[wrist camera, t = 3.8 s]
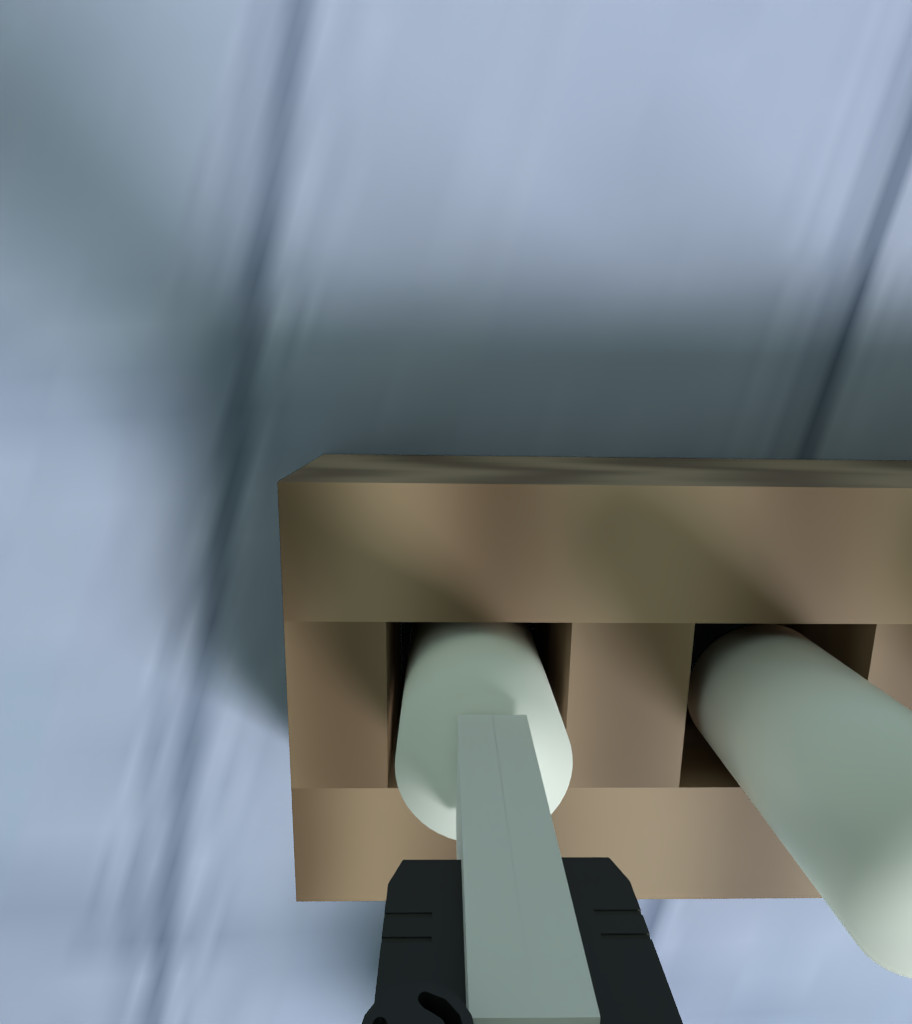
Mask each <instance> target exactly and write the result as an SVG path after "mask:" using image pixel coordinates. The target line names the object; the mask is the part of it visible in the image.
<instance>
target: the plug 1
mask: <svg viewBox="0 0 912 1024" xmlns="http://www.w3.org/2000/svg"><path fill="white" fill-rule="evenodd" d="M458 714H478V715H527V719H528V723H529V727H530V731H531V736H532V740H533V744H534V748H535V752H536V756H537V760H538V764H539V768H540V772H541V776H542V780H543V785H544V789H545V793H546V797H547V801H548V805H549V809H550V813H551V814H552V813H553V812H554V810H555V809H556V808H557V807H558V805H559V804H560V802H561V801H562V799H563V797H564V795H565V793H566V791H567V789H568V786H569V783H570V779H571V775H572V767H573V758H572V750H571V744H570V741H569V738H568V735H567V732H566V729H565V727H564V724H563V721H562V718H561V715H560V713H559V710H558V707H557V704H556V701H555V699H554V696H553V693H552V690H551V687H550V685H549V682H548V679H547V676H546V673H545V671H544V668H543V665H542V662H541V659H540V657H539V654H538V651H537V648H536V645H535V643H534V640H533V637H532V634H531V631H530V629H529V626H528V623H527V622H413V624H412V629H411V635H410V643H409V651H408V659H407V667H406V675H405V683H404V691H403V699H402V707H401V715H400V723H399V731H398V739H397V747H396V755H395V776H396V781H397V785H398V788H399V791H400V793H401V796H402V798H403V800H404V802H405V803H406V805H407V807H408V808H409V809H410V810H411V812H412V813H413V814H414V815H415V816H416V817H417V818H418V819H419V820H420V821H421V822H422V823H423V824H425V825H426V826H427V827H428V828H430V829H432V830H433V831H435V832H437V833H439V834H441V835H443V836H445V837H448V838H451V839H454V840H456V784H457V721H458Z"/></svg>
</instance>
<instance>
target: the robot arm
mask: <svg viewBox="0 0 912 1024" xmlns="http://www.w3.org/2000/svg"><path fill="white" fill-rule="evenodd" d="M456 849H457V860H402V862H401V864H400V865H399V867H398V868H397V870H396V872H395V873H394V875H393V877H392V878H391V880H390V881H389V883H388V888H387V897H386V906H385V918H384V923H383V932H382V943H381V950H380V959H379V968H378V976H377V985H376V994H375V1003H374V1004H373V1006H372V1007H371V1008H370V1009H369V1011H368V1012H367V1013H366V1014H365V1016H364V1019H363V1022H362V1024H683V1023H682V1020H681V1017H680V1015H679V1012H678V1009H677V1007H676V1004H675V1001H674V998H673V996H672V993H671V990H670V988H669V985H668V982H667V980H666V977H665V974H664V972H663V969H662V966H661V963H660V961H659V958H658V955H657V953H656V950H655V947H654V945H653V942H652V940H650V936H649V931H648V928H647V926H646V923H645V920H644V918H643V915H641V909H640V907H639V904H638V901H637V899H636V896H635V893H634V891H633V888H632V885H631V882H630V881H629V879H628V878H627V877H626V876H625V875H624V874H623V873H622V871H621V870H620V869H619V868H618V867H617V866H616V865H615V863H614V862H613V861H612V860H611V859H610V858H609V857H561V854H560V850H559V846H558V842H557V838H556V834H555V829H554V825H553V821H552V817H551V813H550V809H549V805H548V801H547V797H546V793H545V789H544V785H543V780H542V776H541V772H540V768H539V764H538V760H537V756H536V752H535V748H534V744H533V740H532V736H531V731H530V727H529V723H528V719H527V715H478V714H458V721H457V784H456Z"/></svg>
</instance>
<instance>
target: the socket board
mask: <svg viewBox="0 0 912 1024" xmlns="http://www.w3.org/2000/svg"><path fill="white" fill-rule="evenodd" d="M277 484H278V506H279V528H280V550H281V572H282V594H283V616H284V638H285V660H286V681H287V703H288V725H289V747H290V769H291V791H292V813H293V835H294V857H295V879H296V901H386V897H387V888H388V883H389V881H390V880H391V878H392V877H393V875H394V873H395V872H396V870H397V868H398V867H399V865H400V864H401V862H402V860H457V849H456V840H454V839H451V838H448V837H445V836H443V835H441V834H439V833H437V832H435V831H433V830H432V829H430V828H428V827H427V826H426V825H425V824H423V823H422V822H421V821H420V820H419V819H418V818H417V817H416V816H415V815H414V814H413V813H412V812H411V810H410V809H409V808H408V807H407V805H406V803H405V802H404V800H403V798H402V796H401V793H400V791H399V788H398V785H397V781H396V776H395V755H396V747H397V739H398V731H399V723H400V715H401V707H402V699H403V691H404V683H402V661H401V622H531V623H534V643H535V645H536V648H537V651H538V654H539V657H540V659H541V662H542V665H543V668H544V671H545V673H546V676H547V679H548V682H549V685H550V687H551V690H552V693H553V696H554V699H555V701H556V704H557V707H558V710H559V713H560V715H561V718H562V721H563V724H564V727H565V729H566V732H567V735H568V738H569V741H570V744H571V750H572V758H573V767H572V775H571V779H570V783H569V786H568V789H567V791H566V793H565V795H564V797H563V799H562V801H561V802H560V804H559V805H558V807H557V808H556V809H555V810H554V812H553V813H552V814H551V817H552V821H553V825H554V829H555V834H556V838H557V842H558V846H559V850H560V854H561V857H609V858H610V859H611V860H612V861H613V862H614V863H615V865H616V866H617V867H618V868H619V869H620V870H621V871H622V873H623V874H624V875H625V876H626V877H627V878H628V879H629V881H630V882H631V885H632V888H633V891H634V893H635V896H636V899H730V898H822V896H821V895H820V894H819V892H818V891H817V889H816V888H815V887H814V885H813V884H812V883H811V881H810V880H809V879H808V877H807V876H806V875H805V873H804V872H803V871H802V869H801V868H800V867H799V865H798V864H797V862H796V861H795V860H794V858H793V857H792V856H791V854H790V853H789V852H788V850H787V849H786V848H785V846H784V845H783V844H782V842H781V841H780V840H779V838H778V837H777V835H776V834H775V833H774V831H773V830H772V829H771V827H770V826H769V825H768V823H767V822H766V821H765V819H764V818H763V817H762V815H761V814H760V812H759V811H758V810H757V808H756V807H755V806H754V804H753V803H752V802H751V800H750V799H749V798H748V796H747V795H746V794H745V792H744V791H743V790H742V788H741V787H740V785H739V784H738V783H737V781H736V780H735V779H734V777H733V776H732V775H731V773H730V772H729V771H728V769H727V768H726V767H725V765H724V764H723V762H722V761H721V760H720V758H719V757H718V756H717V754H716V753H715V752H714V750H713V749H712V748H711V746H710V745H709V744H708V742H707V741H706V740H705V738H704V737H703V735H702V734H701V733H700V731H699V730H698V729H697V727H696V726H695V724H694V722H693V720H692V718H691V716H690V713H689V709H688V704H687V700H688V690H689V680H690V670H691V660H692V650H693V639H694V629H695V623H753V624H776V625H781V626H785V627H788V628H791V629H793V630H795V631H797V632H799V633H800V634H802V635H803V636H805V637H806V638H808V639H809V640H810V641H812V642H813V643H815V644H816V645H818V646H819V647H820V648H822V649H823V650H825V651H826V652H828V653H829V654H830V655H832V656H833V657H835V658H836V659H838V660H839V661H840V662H842V663H843V664H845V665H846V666H848V667H849V668H850V669H852V670H853V671H855V672H856V673H858V674H859V675H861V676H862V677H863V678H865V679H866V680H868V681H869V682H871V683H872V684H873V685H875V686H876V687H878V688H879V689H881V690H882V691H883V692H885V693H886V694H888V695H889V696H891V697H892V698H893V699H895V700H896V701H898V702H899V703H901V704H902V705H903V706H905V707H906V708H908V709H909V710H911V711H912V461H892V460H802V459H713V458H624V457H534V456H445V455H355V454H323V455H321V456H320V457H318V458H316V459H315V460H313V461H311V462H310V463H308V464H306V465H305V466H303V467H301V468H300V469H298V470H296V471H295V472H293V473H291V474H290V475H288V476H286V477H285V478H283V479H281V480H280V481H278V482H277Z"/></svg>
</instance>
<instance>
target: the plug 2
mask: <svg viewBox="0 0 912 1024" xmlns="http://www.w3.org/2000/svg"><path fill="white" fill-rule="evenodd" d="M687 704H688V709H689V713H690V716H691V718H692V720H693V722H694V724H695V726H696V727H697V729H698V730H699V731H700V733H701V734H702V735H703V737H704V738H705V740H706V741H707V742H708V744H709V745H710V746H711V748H712V749H713V750H714V752H715V753H716V754H717V756H718V757H719V758H720V760H721V761H722V762H723V764H724V765H725V767H726V768H727V769H728V771H729V772H730V773H731V775H732V776H733V777H734V779H735V780H736V781H737V783H738V784H739V785H740V787H741V788H742V790H743V791H744V792H745V794H746V795H747V796H748V798H749V799H750V800H751V802H752V803H753V804H754V806H755V807H756V808H757V810H758V811H759V812H760V814H761V815H762V817H763V818H764V819H765V821H766V822H767V823H768V825H769V826H770V827H771V829H772V830H773V831H774V833H775V834H776V835H777V837H778V838H779V840H780V841H781V842H782V844H783V845H784V846H785V848H786V849H787V850H788V852H789V853H790V854H791V856H792V857H793V858H794V860H795V861H796V862H797V864H798V865H799V867H800V868H801V869H802V871H803V872H804V873H805V875H806V876H807V877H808V879H809V880H810V881H811V883H812V884H813V885H814V887H815V888H816V889H817V891H818V892H819V894H820V895H821V896H822V898H823V899H824V900H825V902H826V903H827V904H828V906H829V907H830V908H831V910H832V911H833V912H834V914H835V915H836V917H837V918H838V919H839V921H840V922H841V923H842V925H843V926H844V927H845V929H846V930H847V931H848V933H849V934H850V935H851V937H852V938H853V939H854V941H855V942H856V944H857V945H858V946H859V947H860V948H861V950H862V951H863V952H864V953H865V954H866V955H867V956H868V957H869V958H870V959H872V960H873V961H874V962H875V963H877V964H878V965H880V966H881V967H883V968H885V969H886V970H889V971H891V972H893V973H895V974H898V975H901V976H904V977H908V978H911V979H912V711H911V710H909V709H908V708H906V707H905V706H903V705H902V704H901V703H899V702H898V701H896V700H895V699H893V698H892V697H891V696H889V695H888V694H886V693H885V692H883V691H882V690H881V689H879V688H878V687H876V686H875V685H873V684H872V683H871V682H869V681H868V680H866V679H865V678H863V677H862V676H861V675H859V674H858V673H856V672H855V671H853V670H852V669H850V668H849V667H848V666H846V665H845V664H843V663H842V662H840V661H839V660H838V659H836V658H835V657H833V656H832V655H830V654H829V653H828V652H826V651H825V650H823V649H822V648H820V647H819V646H818V645H816V644H815V643H813V642H812V641H810V640H809V639H808V638H806V637H805V636H803V635H802V634H800V633H799V632H797V631H795V630H793V629H791V628H788V627H785V626H781V625H776V624H753V625H747V626H744V627H740V628H737V629H735V630H733V631H730V632H728V633H726V634H725V635H723V636H721V637H720V638H718V639H717V640H716V641H714V642H713V643H712V644H711V645H710V646H709V647H708V648H707V649H706V650H705V651H704V652H703V653H702V655H701V656H700V657H699V659H698V660H697V662H696V664H695V665H694V668H693V670H692V672H691V675H690V680H689V690H688V700H687Z"/></svg>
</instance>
